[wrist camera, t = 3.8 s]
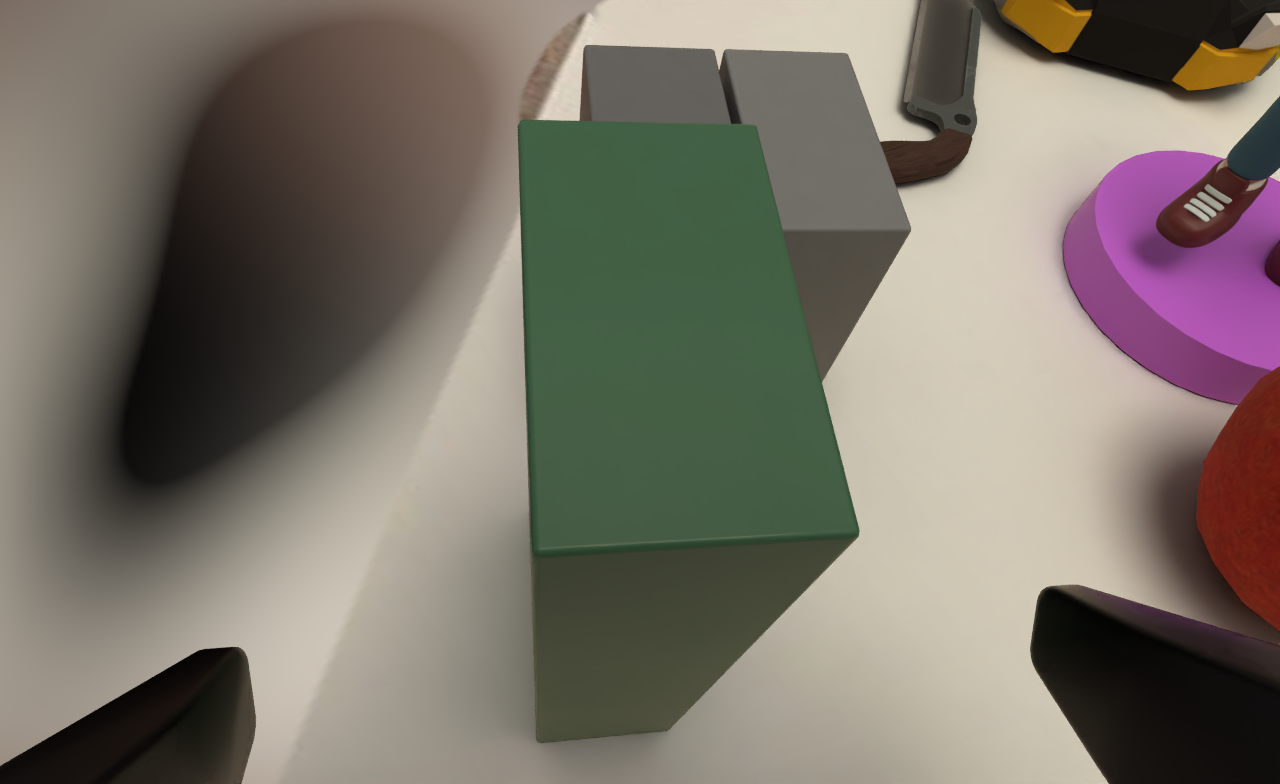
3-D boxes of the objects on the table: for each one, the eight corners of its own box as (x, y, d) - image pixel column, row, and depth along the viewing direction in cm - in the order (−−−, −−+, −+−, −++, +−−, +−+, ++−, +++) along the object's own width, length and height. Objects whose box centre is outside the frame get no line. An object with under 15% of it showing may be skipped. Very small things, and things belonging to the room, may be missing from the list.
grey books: (799, 422, 22) (913, 229, 16) (582, 430, 22) (602, 230, 15) (764, 271, 25) (848, 51, 18) (571, 273, 24) (583, 43, 17)
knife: (962, 209, 27) (971, 195, 27) (852, 177, 28) (858, 162, 27) (984, -8, 35) (992, -23, 34) (896, -32, 35) (903, -47, 34)
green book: (669, 730, 18) (864, 536, 7) (536, 743, 17) (532, 556, 7) (644, 505, 21) (757, 121, 10) (528, 511, 20) (518, 117, 9)
